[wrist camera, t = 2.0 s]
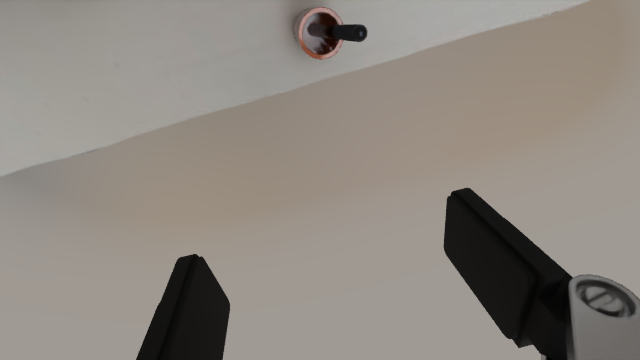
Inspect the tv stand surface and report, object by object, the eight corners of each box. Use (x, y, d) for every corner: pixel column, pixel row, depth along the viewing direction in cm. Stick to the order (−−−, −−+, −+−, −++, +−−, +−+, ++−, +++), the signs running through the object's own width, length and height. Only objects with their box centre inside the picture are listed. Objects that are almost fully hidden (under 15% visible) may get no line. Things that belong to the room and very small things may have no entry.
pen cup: (297, 53, 34) (303, 63, 28) (289, 13, 32) (294, 12, 25) (332, 46, 34) (346, 54, 28) (326, 5, 32) (340, 2, 25)
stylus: (308, 37, 33) (356, 43, 21) (306, 25, 32) (354, 26, 21) (317, 35, 33) (370, 40, 21) (315, 23, 32) (369, 22, 21)
